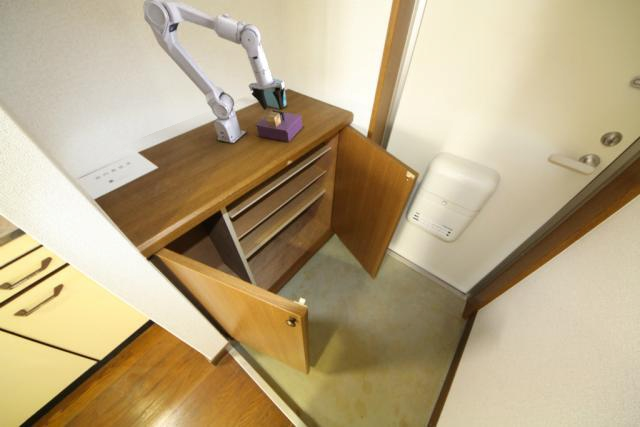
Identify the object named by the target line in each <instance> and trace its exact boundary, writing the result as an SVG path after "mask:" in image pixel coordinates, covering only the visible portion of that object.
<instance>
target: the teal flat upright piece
mask: <svg viewBox="0 0 640 427" xmlns="http://www.w3.org/2000/svg"><path fill="white" fill-rule="evenodd" d="M272 79H273V80H274V81H283V80H281V79H278V78H273V77H272ZM274 90H275V89H264V95H265V99H266V102H267V106H268V107H271V108H275V109H278V110H280V108H279V106H278V103H277V100H276V98H275V96H274V95H273V93H272V92H273V91H274ZM283 102H284V107H286V106H287V96H286V89H285V90H284V97H283Z"/></svg>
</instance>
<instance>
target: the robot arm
mask: <svg viewBox="0 0 640 427" xmlns="http://www.w3.org/2000/svg"><path fill="white" fill-rule="evenodd" d="M142 6H143V8H142V9H143V19H144V21H145V22H146V23H147V24H148V25H149V27H150V29H151V32H152V33H153V35H154V37H155V39H156V42H157V44H158V45H159V46H160V48H161V49H162V50H163V51H164V52H165V53H166V54H167V55H168V56H169V58H170V59H171V60H172V62H174V64H176V65H177V67H178V68H180V70H181V71H182V72H183V73H184V74H185V75H186V76H187V77H188V78H189V80H190V81H191V82H192V83H193V84H194V85H195V86H196V87H197V88H198V90H199V91H200V92H201V93H202V94H203V95H204V96H205V100H206V103H207V105H208V106H209V108H210V109H211V112H212V114H214V116H215V117H216V119H215V121H214V122H213V128H214V129H215V132H216V135H217V140H218V141H222V142H227V143H231V144H234V143H235V142H236V141H238V140H239V139H240V138H241V137H243V136H245V135H246V133H247V131H246V130H242V129H241V127H240V123H239V120H238V116H237V113H236V110H234V106H235V100H234V98H233V97H232V95H230V94H229V93H227V92H226V91H224V90H223V88H221V87H219V86H217V85H216V84H215V83H214V81H213V80H212V79H211V78H210V77H209V76H208V75H207V73H206V72H205V70H203V69H202V68H201V66H200V65H199V64H198V62H196V61H195V59H194V57H192V55H191V54H189V52H188V51H187V49H185V47H183V45H182V44H181V43H180V42H179V39H178V27H179V24H180V23H182V22H189V23H192V24H195V25H197V26H200V27H204V28H206V29H210V30H212V31H214V33H215V34H216V35H217V36H218V37H219V38H221V39H224V40H226V41H229V42H232V43H234V44H236V45H241V47H242V48H243V49H244V50H245V52H246V55H247V59H248V61H249V64H250V66H251V69H252V73H253V75H254V78H255V81H256V82H252V83H250V84H248V89H249V91H251V95H252V97H254V99H255V100H256V101H257V102H258V103H259V104H260V106H261V107H262V109H263V110H264V111H265V110H267V109H268V108H269V106H267V102H266V99H265V95H264V89H275V90H274V91H273V92H272V93H273V95H274V96H275V98H276V100H277V103H278V106H279V108H280V109H279V111H280V110H283V109H284V108H285V106H284V102H283V97H284V90H285V91H286V89H285V88H286V84H285V81H283V80H282V81H274V80H273V79H274V78H273V77H272V73H271V70H270V66H269V64H268V60H267V56H266V54H265V51H264V48H263V45H262V43H261V38H262V37H261V33H260V31H259V28H257V27H256V26H255V25H253V24H252V23H247V24H246V22H245V21H244V20H241V21H238V20H236V19H234V18H231V17H229V16H230V15H229V14H228V13H226V12H224V13H223V14H221V13H219V14H217V15H216V16H213V15H211V14H209V13H206V12H205V11H203V10H200V9H198V8H196V7H193V6H191V5H189V4H187V3H184V2H182V1H180V0H144V2H143V4H142ZM272 78H273V79H272Z"/></svg>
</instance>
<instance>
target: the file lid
mask: <svg viewBox="0 0 640 427" xmlns="http://www.w3.org/2000/svg"><path fill="white" fill-rule="evenodd" d="M270 112H276V113H279V114H280V120H281V123H280V124H279V125H278V126H277V127H273V126H268V125H267V120H266V115H265V116H264V117H263V118H262V119H260V120H259V121H258V122H257V123H256V124H255V127H257V126H258V127H263V128H268V129H274V130H279V131H284V132H287V131H288V130H289V129H290V128H291V127H292V126H293V125H294V124H295V123H296V122H297V121H298V120H299V119H300V118H301V117H302V115H301V114H296V113H290V112H285V111H280V110H275V109H273V110H271V111H270ZM302 118H303V117H302Z"/></svg>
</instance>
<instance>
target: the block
mask: <svg viewBox="0 0 640 427" xmlns="http://www.w3.org/2000/svg"><path fill="white" fill-rule="evenodd" d="M265 116H266V120H267V125H268V126H273V127H277V126H278V125H279V124H280V123H281V120H280V114H279V113H276V112H271V111H269V112H268V113H267V114H266V115H265Z"/></svg>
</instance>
